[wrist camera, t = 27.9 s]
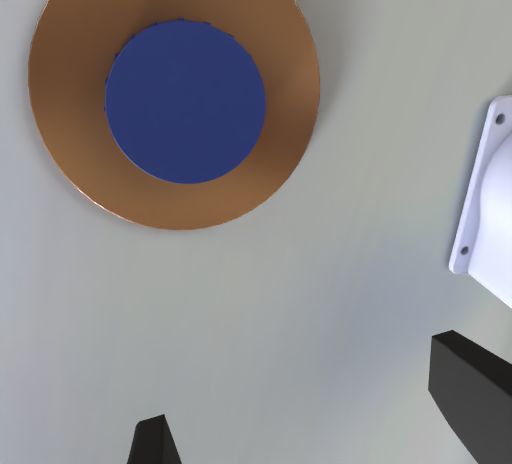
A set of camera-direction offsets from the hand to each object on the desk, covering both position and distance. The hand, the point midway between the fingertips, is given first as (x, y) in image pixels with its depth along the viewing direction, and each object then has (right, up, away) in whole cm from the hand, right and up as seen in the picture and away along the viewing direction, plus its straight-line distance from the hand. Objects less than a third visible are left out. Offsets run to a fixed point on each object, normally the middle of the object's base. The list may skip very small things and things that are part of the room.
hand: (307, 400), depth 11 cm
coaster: (-4, +10, +6) cm, 12 cm away
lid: (-4, +9, +4) cm, 11 cm away
